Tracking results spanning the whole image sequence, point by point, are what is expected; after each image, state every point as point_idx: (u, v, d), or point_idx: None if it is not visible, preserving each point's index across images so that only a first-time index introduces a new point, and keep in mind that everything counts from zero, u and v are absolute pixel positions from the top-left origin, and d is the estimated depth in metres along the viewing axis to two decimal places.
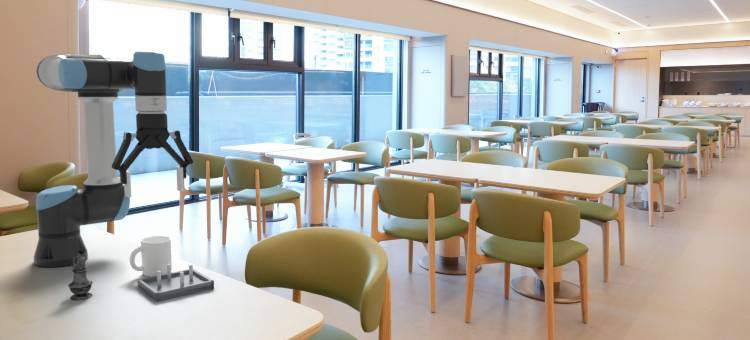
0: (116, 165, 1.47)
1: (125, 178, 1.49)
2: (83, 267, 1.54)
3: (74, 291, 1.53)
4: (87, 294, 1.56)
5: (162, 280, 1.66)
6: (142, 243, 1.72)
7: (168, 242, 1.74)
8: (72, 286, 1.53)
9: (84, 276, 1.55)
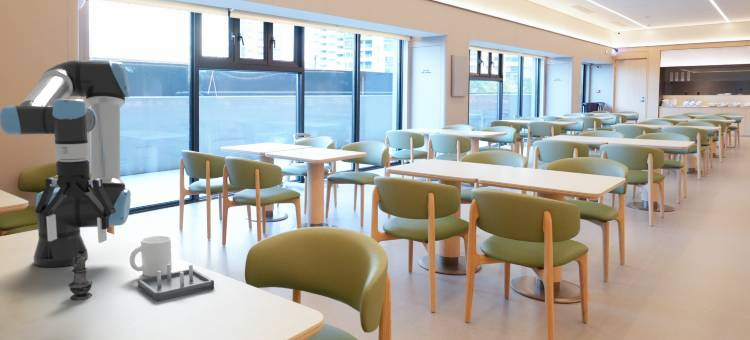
0: (37, 209, 1.52)
1: None
2: (83, 267, 1.54)
3: (74, 291, 1.53)
4: (87, 294, 1.56)
5: (162, 280, 1.66)
6: (142, 243, 1.72)
7: (168, 242, 1.74)
8: (72, 286, 1.53)
9: (84, 276, 1.55)
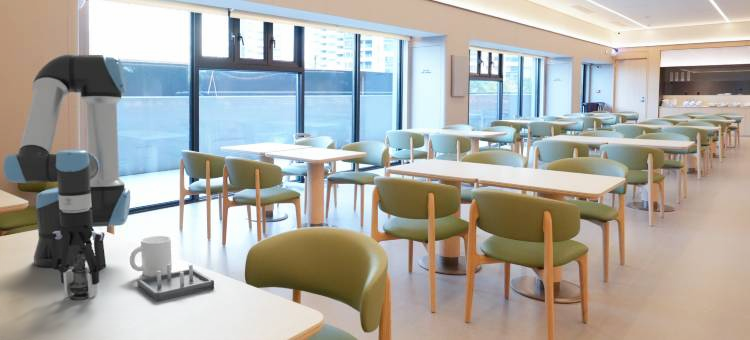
0: (53, 265, 1.54)
1: (64, 278, 1.55)
2: (83, 267, 1.54)
3: (74, 291, 1.53)
4: (87, 294, 1.56)
5: (162, 280, 1.66)
6: (142, 243, 1.72)
7: (168, 242, 1.74)
8: (72, 286, 1.53)
9: (84, 276, 1.55)
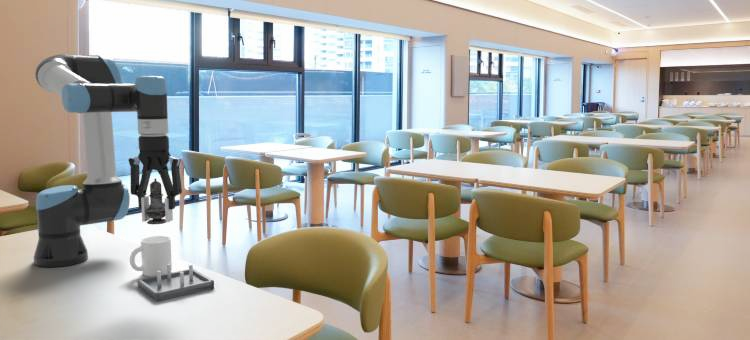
0: (131, 190, 1.57)
1: None
2: (160, 192, 1.57)
3: (151, 215, 1.56)
4: (163, 220, 1.59)
5: (162, 280, 1.66)
6: (142, 243, 1.72)
7: (168, 242, 1.74)
8: (150, 210, 1.56)
9: (160, 201, 1.58)
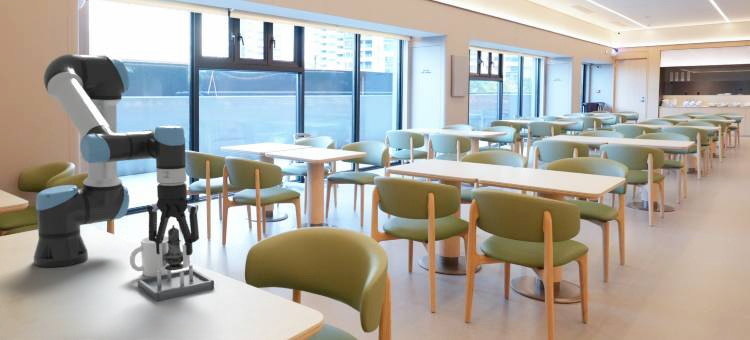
0: (149, 237, 1.61)
1: None
2: (178, 238, 1.61)
3: (170, 261, 1.60)
4: (180, 265, 1.63)
5: (162, 280, 1.66)
6: (142, 243, 1.72)
7: None
8: (168, 257, 1.59)
9: (178, 247, 1.61)
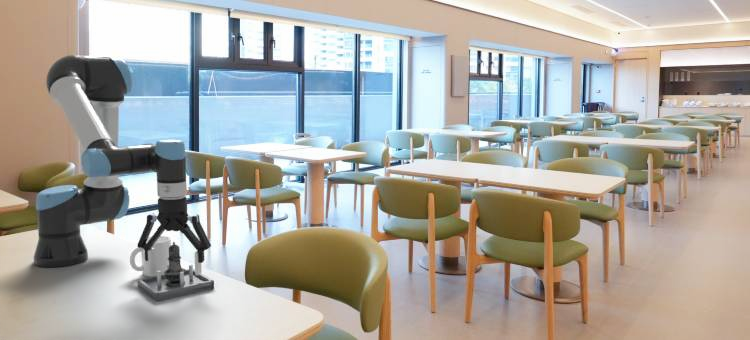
0: (139, 243, 1.61)
1: (148, 256, 1.62)
2: (178, 255, 1.62)
3: (170, 278, 1.60)
4: None
5: (162, 280, 1.66)
6: None
7: (168, 242, 1.74)
8: (169, 273, 1.60)
9: (179, 264, 1.62)
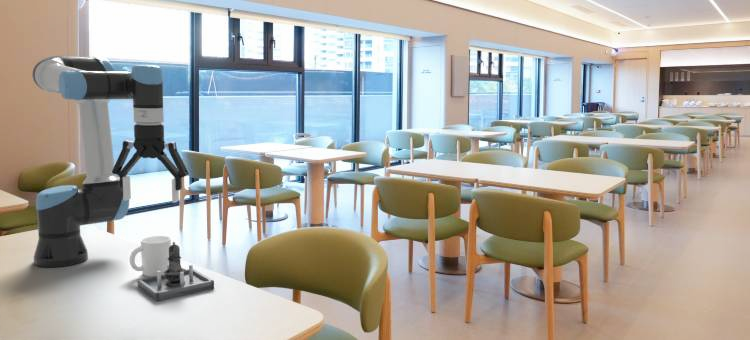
0: (113, 170, 1.60)
1: (123, 182, 1.61)
2: (178, 255, 1.62)
3: (170, 278, 1.60)
4: None
5: (162, 280, 1.66)
6: (142, 243, 1.72)
7: (168, 242, 1.74)
8: (169, 273, 1.60)
9: (179, 264, 1.62)
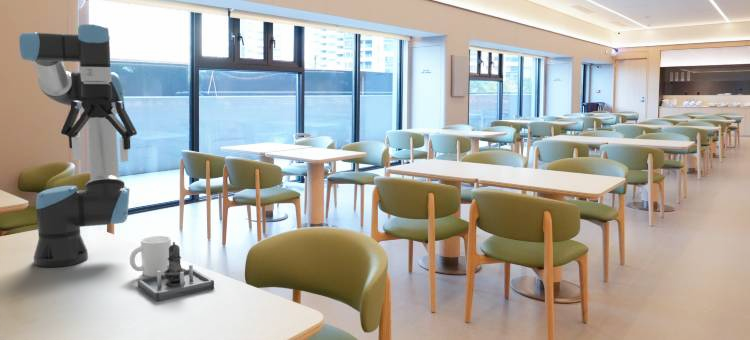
0: (62, 130, 1.61)
1: None
2: (178, 255, 1.62)
3: (170, 278, 1.60)
4: None
5: (162, 280, 1.66)
6: (142, 243, 1.72)
7: (168, 242, 1.74)
8: (169, 273, 1.60)
9: (179, 264, 1.62)
